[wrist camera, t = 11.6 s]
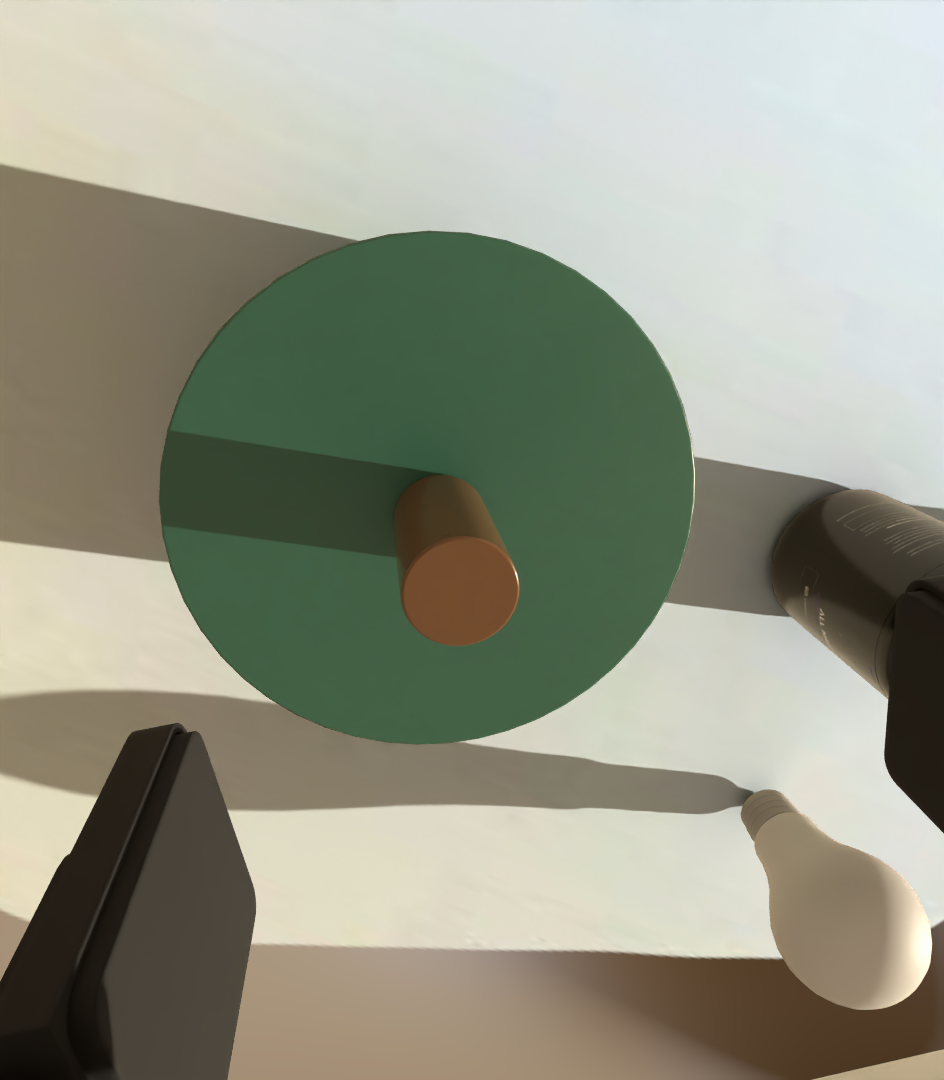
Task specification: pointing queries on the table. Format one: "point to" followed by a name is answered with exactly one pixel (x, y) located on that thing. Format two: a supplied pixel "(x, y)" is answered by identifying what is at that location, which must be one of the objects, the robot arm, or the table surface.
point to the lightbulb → (837, 910)
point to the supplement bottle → (855, 573)
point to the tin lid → (427, 487)
